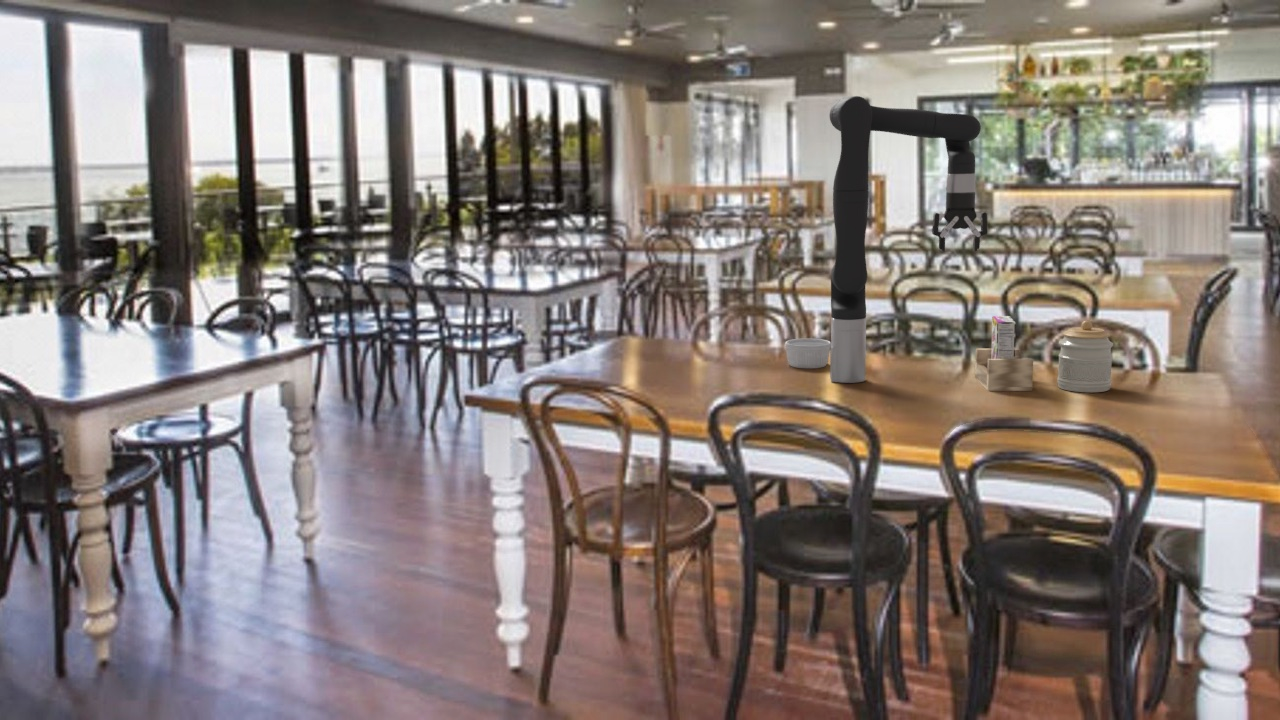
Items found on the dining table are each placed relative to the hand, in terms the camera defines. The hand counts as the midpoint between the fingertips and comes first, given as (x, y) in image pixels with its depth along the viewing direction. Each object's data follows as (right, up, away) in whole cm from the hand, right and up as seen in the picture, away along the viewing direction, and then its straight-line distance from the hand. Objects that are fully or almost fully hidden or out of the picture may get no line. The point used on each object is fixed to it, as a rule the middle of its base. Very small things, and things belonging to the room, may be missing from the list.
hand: (959, 251), depth 310 cm
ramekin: (-37, -31, +25) cm, 55 cm away
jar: (+28, -37, -15) cm, 49 cm away
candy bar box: (+9, -35, -8) cm, 37 cm away
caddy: (+9, -36, -8) cm, 38 cm away
